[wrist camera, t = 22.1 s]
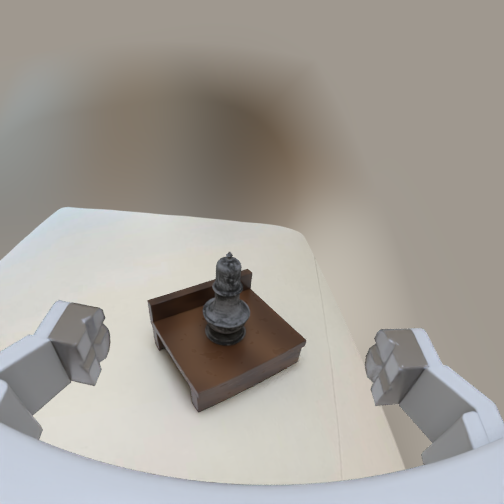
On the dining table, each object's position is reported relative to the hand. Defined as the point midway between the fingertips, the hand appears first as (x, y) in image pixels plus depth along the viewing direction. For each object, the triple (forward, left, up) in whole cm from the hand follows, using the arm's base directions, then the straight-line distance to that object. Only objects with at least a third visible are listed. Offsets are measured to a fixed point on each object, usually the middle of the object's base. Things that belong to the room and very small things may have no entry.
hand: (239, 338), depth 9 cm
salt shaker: (-12, -19, -23) cm, 33 cm away
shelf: (-12, -19, -28) cm, 36 cm away
